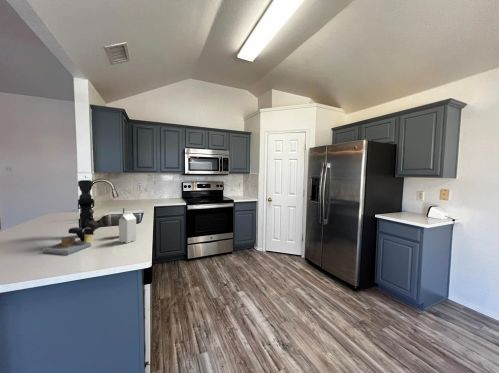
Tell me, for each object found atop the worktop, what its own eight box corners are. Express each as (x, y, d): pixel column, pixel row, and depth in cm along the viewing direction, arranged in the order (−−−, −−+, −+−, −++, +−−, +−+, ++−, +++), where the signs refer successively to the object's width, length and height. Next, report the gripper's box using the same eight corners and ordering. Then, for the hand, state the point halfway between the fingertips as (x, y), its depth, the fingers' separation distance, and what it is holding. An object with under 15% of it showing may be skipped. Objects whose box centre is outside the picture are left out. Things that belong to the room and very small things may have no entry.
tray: (67, 244, 133) (67, 240, 133) (90, 246, 131) (90, 242, 131) (43, 252, 120) (43, 248, 119) (68, 255, 117) (68, 250, 117)
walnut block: (69, 244, 132) (68, 236, 132) (75, 244, 131) (75, 237, 131) (61, 246, 127) (61, 239, 127) (68, 247, 127) (67, 239, 126)
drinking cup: (124, 238, 149) (124, 209, 148) (114, 237, 150) (114, 208, 149) (132, 235, 156) (132, 207, 155) (123, 234, 158) (123, 207, 157)
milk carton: (136, 240, 145) (136, 212, 144) (127, 243, 139) (127, 214, 137) (128, 239, 148) (128, 211, 146) (118, 242, 141) (118, 213, 140)
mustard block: (86, 241, 141) (86, 234, 141) (92, 241, 140) (92, 234, 140) (80, 243, 136) (79, 236, 136) (86, 243, 136) (86, 236, 136)
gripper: (83, 220, 127) (84, 246, 128) (108, 214, 145) (109, 237, 146) (67, 219, 129) (68, 245, 130) (94, 213, 147) (94, 236, 148)
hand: (86, 240), depth 138 cm, fingers closed on mustard block, 4 cm apart
